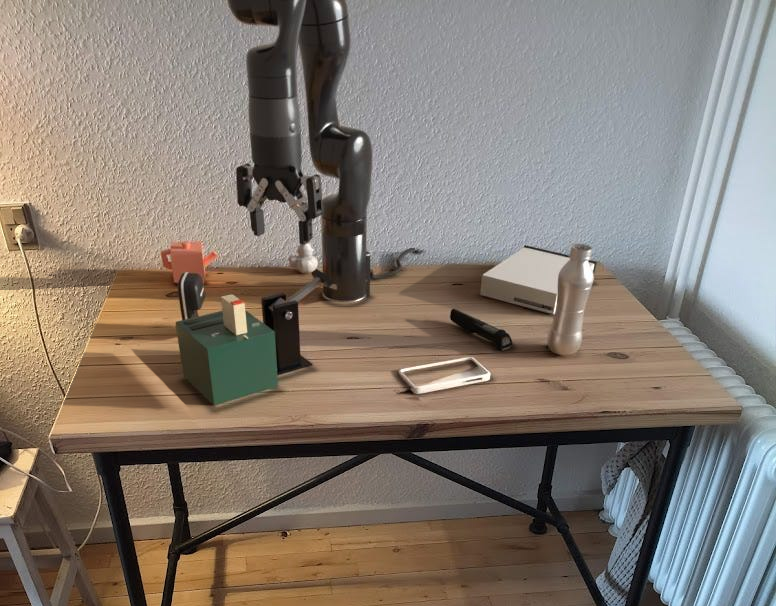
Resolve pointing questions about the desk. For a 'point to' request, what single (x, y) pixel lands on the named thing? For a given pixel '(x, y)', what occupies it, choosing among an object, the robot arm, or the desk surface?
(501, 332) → the electric trimmer
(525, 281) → the disc drive
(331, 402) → the desk surface
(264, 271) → the desk surface
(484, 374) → the phone case
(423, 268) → the desk surface
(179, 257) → the pink cube teapot
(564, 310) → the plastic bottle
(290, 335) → the black lever stand
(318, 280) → the lever
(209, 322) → the toaster slots
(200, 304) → the black computer mouse
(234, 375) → the toaster
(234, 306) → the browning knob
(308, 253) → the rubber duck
